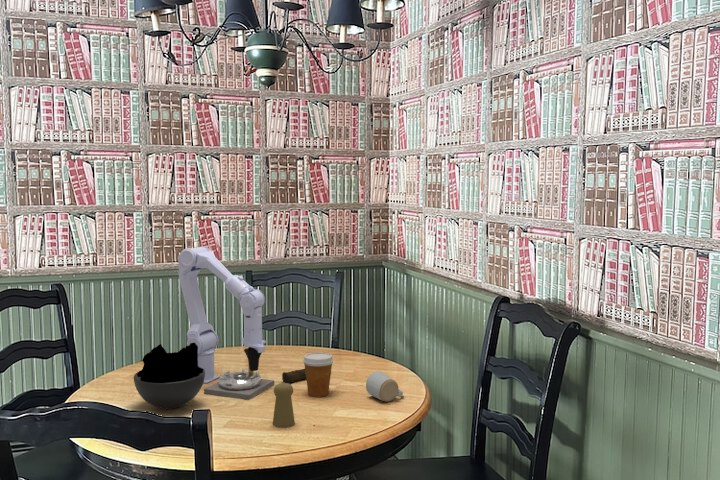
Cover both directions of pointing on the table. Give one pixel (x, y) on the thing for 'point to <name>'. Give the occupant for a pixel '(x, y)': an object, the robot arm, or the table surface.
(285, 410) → the olive pawn figure
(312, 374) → the disposable coffee cup
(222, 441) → the table surface
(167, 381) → the coal bowl
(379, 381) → the ceramic mug
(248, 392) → the base plate
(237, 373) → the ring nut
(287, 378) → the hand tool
